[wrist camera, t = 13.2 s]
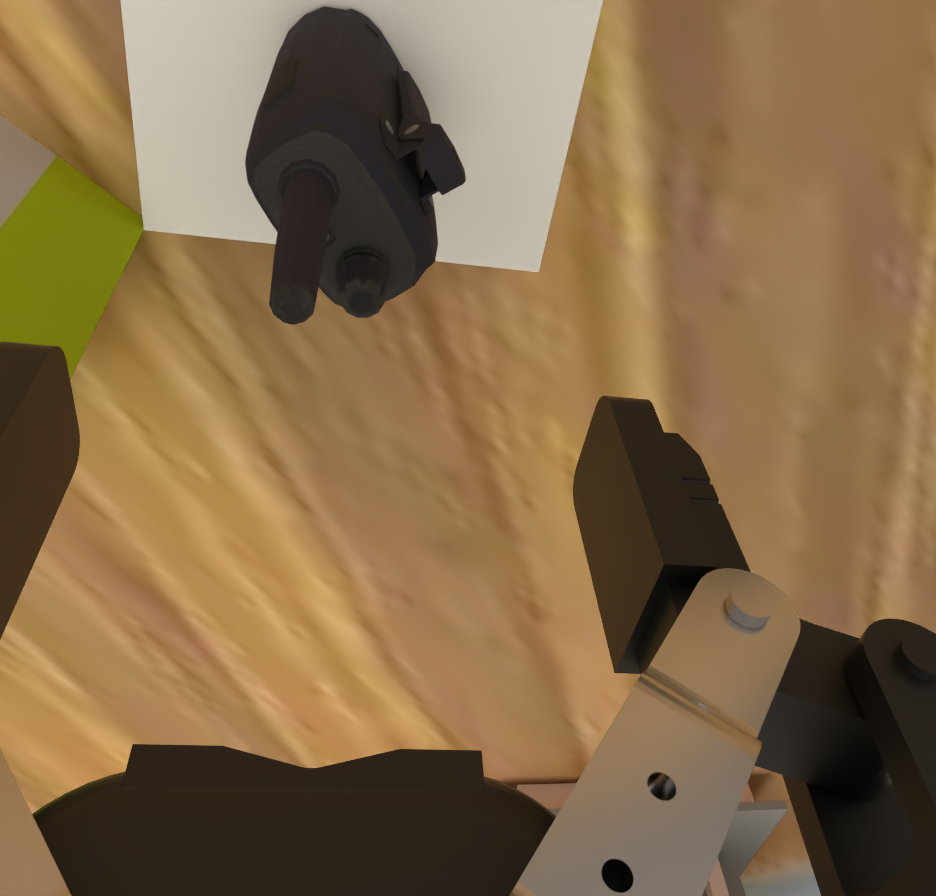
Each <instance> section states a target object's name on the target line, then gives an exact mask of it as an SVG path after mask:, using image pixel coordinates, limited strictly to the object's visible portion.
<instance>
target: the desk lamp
mask: <svg viewBox="0 0 936 896" xmlns="http://www.w3.org/2000/svg"><path fill="white" fill-rule="evenodd" d="M575 785H576V783H561V784H527V785H517V790H519V791H521V792H523V793H525V794H526V795H528V796H530V797H532V798H533V799H535V800H536V801H537V802H539V803H540V804H542V805H543V806H544V807H546V808H547V809H548V810H550V811H551V812H552V813H553V814H554V815H555V816H557V815H558V813H559V811H560V810H561V808H562V806H563V805H564V803H565V801H566V800H567V798H568V796H569V795H570V793H571V791H572V790H573V788H574V786H575ZM787 810H788V808H787V805H786V802H785V801H763V802H755V801H754V798H753V796H752V793H751V790H750V787H749V784H748V783H747V785H746V788H745V790H744V793H743V795H742V798H741V800H740V803H739V805H738V808H737V810H736V812H735V815H734V817H733V820H732V822H731V825H730V827H729V830H728V832H727V835H726V837H725V840H724V842H723V845H722V847H721V850H720V852H719V855H718V857H717V860H716V862H715V865H714V867H713V870H712V872H711V875H710V877H709V880H708V882H707V885H706V887H705V890H704V892H703V895H702V896H745V893H744V890H743V886H742V883H741V880H740V877H739V876H740V875H741V874H742V872H743V871H744V869H745V868H746V867H747V865H748V864H749V863H750V861H751V860H752V858H753V857H754V856H755V854H756V853H757V852H758V850H759V849H760V847H761V846H762V845H763V843H764V842H765V840H766V839H767V838H768V836H769V835H770V834H771V832H772V831H773V829H774V828H775V827H776V825H777V824H778V822H779V821H780V820H781V818H782V817H783V816H784V814H785V813H786V811H787Z"/></svg>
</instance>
